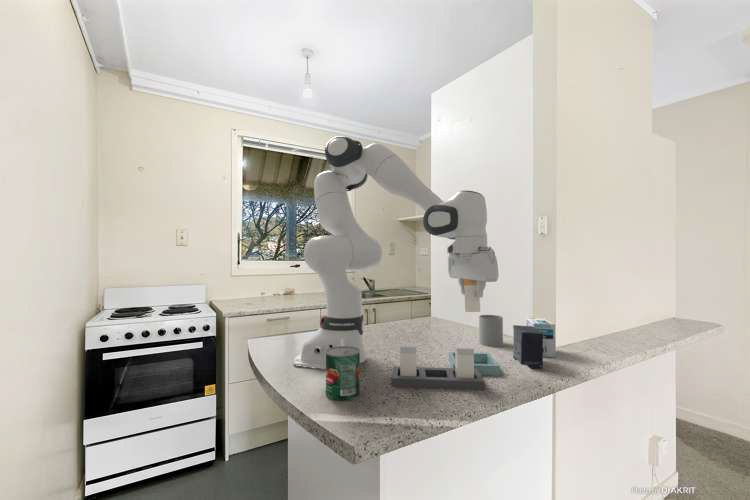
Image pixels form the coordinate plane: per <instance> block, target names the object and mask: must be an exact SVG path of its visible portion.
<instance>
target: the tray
mask: <svg viewBox="0 0 750 500" xmlns="http://www.w3.org/2000/svg"><path fill="white" fill-rule="evenodd" d="M448 362H449V365H450V368H455V351H449V352H448ZM483 363H485V364H483ZM474 369H478V371H479V373H480V374H481V376H500V372H501V371H500V365H499V363H498V362H497V361H496V359H495V358H494V357H493V356H492V354H491V353H490V352H474Z"/></svg>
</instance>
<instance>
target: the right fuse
mask: <svg viewBox="0 0 750 500" xmlns="http://www.w3.org/2000/svg"><path fill="white" fill-rule="evenodd" d="M454 352H455V378H474V364H475V362H474V353H475V349H474V347H473V345H472V344H468V343H467V344H466V343H465V344H462V343H461V344H460V343H459V344H457V343H455V345H454Z"/></svg>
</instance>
